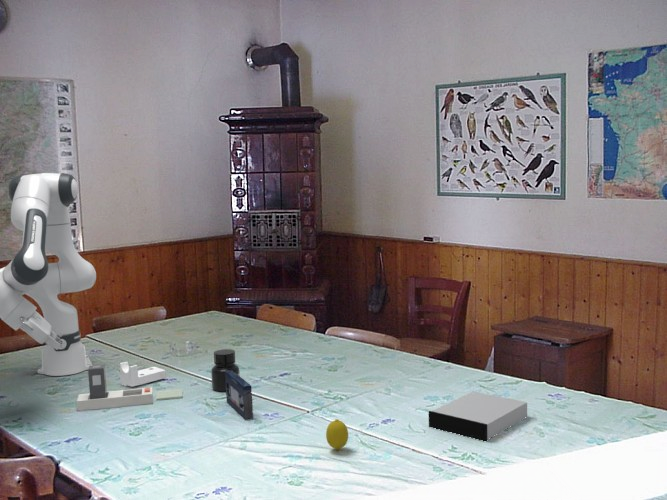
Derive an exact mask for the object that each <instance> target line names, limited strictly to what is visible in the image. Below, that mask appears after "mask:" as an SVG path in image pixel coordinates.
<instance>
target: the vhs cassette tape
mask: <svg viewBox="0 0 667 500" xmlns="http://www.w3.org/2000/svg"><path fill="white" fill-rule="evenodd" d="M225 378H226V379H225V383H226V392H225V394H226V395H225V396H226V403H227V404H228V406H230V407H231V409H233V410H234V411H235V412H236V414H238V415H239V416H240V417H241V418H242V419H243V420H244V421H249V420H253V419H254V412H253V411H254V409H253V393H252V392H253V391H252V385H251V384H250V383H249V382H248V381H246V380H245V379H244V378H243V377H241V375H240V376H239V375H237V374H236V373H235V372H233V371H232V370H229V371H225Z"/></svg>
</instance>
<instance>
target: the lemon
mask: <svg viewBox="0 0 667 500" xmlns="http://www.w3.org/2000/svg"><path fill="white" fill-rule="evenodd" d="M325 436H326V442H327V443H328V445H329V447H331V448H333V449H334V450H336V451H340V450H341V449H342V448H343V447H344V446H346V445H347V444H348V440H349V431H348V427H347V425H346V423H344V421H342V420H340V419H335V420H333V421H331V422H330V423H329V424H328V426H327V428H326V432H325Z"/></svg>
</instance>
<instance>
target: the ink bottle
mask: <svg viewBox="0 0 667 500" xmlns="http://www.w3.org/2000/svg"><path fill="white" fill-rule="evenodd" d="M213 363H214V366H212V368H211V371H210V372H211V375H210V376H211V388H212V390H214V391H216V392H221V393H222V392H223V393H224V392H225V393H226V383H225V379H226V378H225V371H229V370H232V371H233V372H235V373H236V374H237V375H239V376H240V377H241V375H240V367H239V366H238V365H237V364H236V351H235V350H234V349H232V348H231V349H230V348H229V349H228V348H226V349H225V348H224V349H218V350H215V351H213Z"/></svg>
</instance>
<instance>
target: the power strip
mask: <svg viewBox="0 0 667 500" xmlns="http://www.w3.org/2000/svg"><path fill="white" fill-rule="evenodd" d="M150 404H154V390H153V387H152V386H151V387H144V388H143V387H142V388H141V387H139V388H133V389H122V390H121V389H120V390H110V391H107V398H99V399H90V392H87V393H79V394H78V396H77V399H76V407H77V412H80V411H89V410H90V411H91V410H100V409H112V408H121V407H130V406H139V405H140V406H141V405H150Z"/></svg>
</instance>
